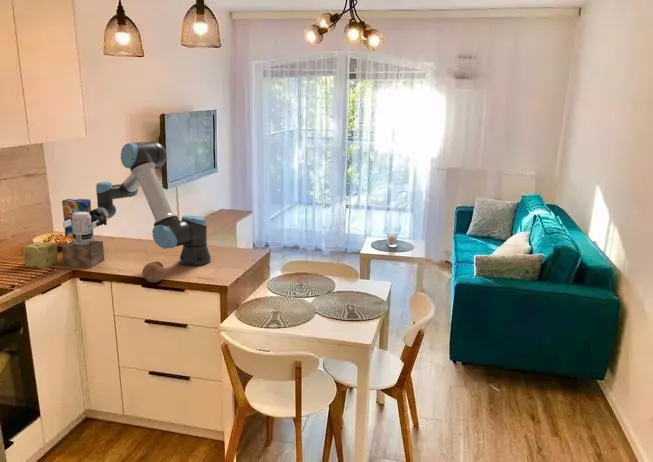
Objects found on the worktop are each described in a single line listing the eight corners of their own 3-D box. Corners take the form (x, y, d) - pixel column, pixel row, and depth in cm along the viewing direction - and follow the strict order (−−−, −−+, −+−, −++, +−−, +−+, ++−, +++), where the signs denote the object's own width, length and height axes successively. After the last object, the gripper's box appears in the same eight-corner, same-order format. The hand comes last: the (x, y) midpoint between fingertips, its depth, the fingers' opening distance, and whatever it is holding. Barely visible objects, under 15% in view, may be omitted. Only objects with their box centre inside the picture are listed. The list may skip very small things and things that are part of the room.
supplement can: (73, 241, 251) (72, 211, 247) (92, 240, 254) (91, 211, 250) (72, 246, 244) (71, 215, 240) (91, 245, 247) (90, 215, 243)
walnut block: (104, 260, 257) (102, 241, 255) (92, 268, 245) (90, 247, 243) (77, 259, 258) (75, 240, 255) (63, 266, 246) (61, 246, 244)
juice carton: (94, 241, 289) (90, 199, 283) (86, 245, 282) (82, 201, 276) (74, 240, 291) (70, 198, 285) (66, 243, 284) (61, 200, 278)
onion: (162, 285, 233) (170, 265, 234) (156, 287, 224) (166, 265, 224) (142, 277, 233) (151, 257, 233) (136, 279, 223) (145, 257, 224)
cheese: (43, 268, 242) (41, 248, 240) (23, 266, 244) (21, 246, 242) (58, 262, 252) (56, 242, 250) (39, 260, 254) (37, 240, 252)
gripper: (122, 223, 266) (105, 233, 245) (74, 222, 266) (52, 232, 245) (121, 209, 264) (103, 218, 243) (72, 207, 264) (51, 216, 243)
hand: (78, 225), depth 244 cm, fingers open, 13 cm apart
